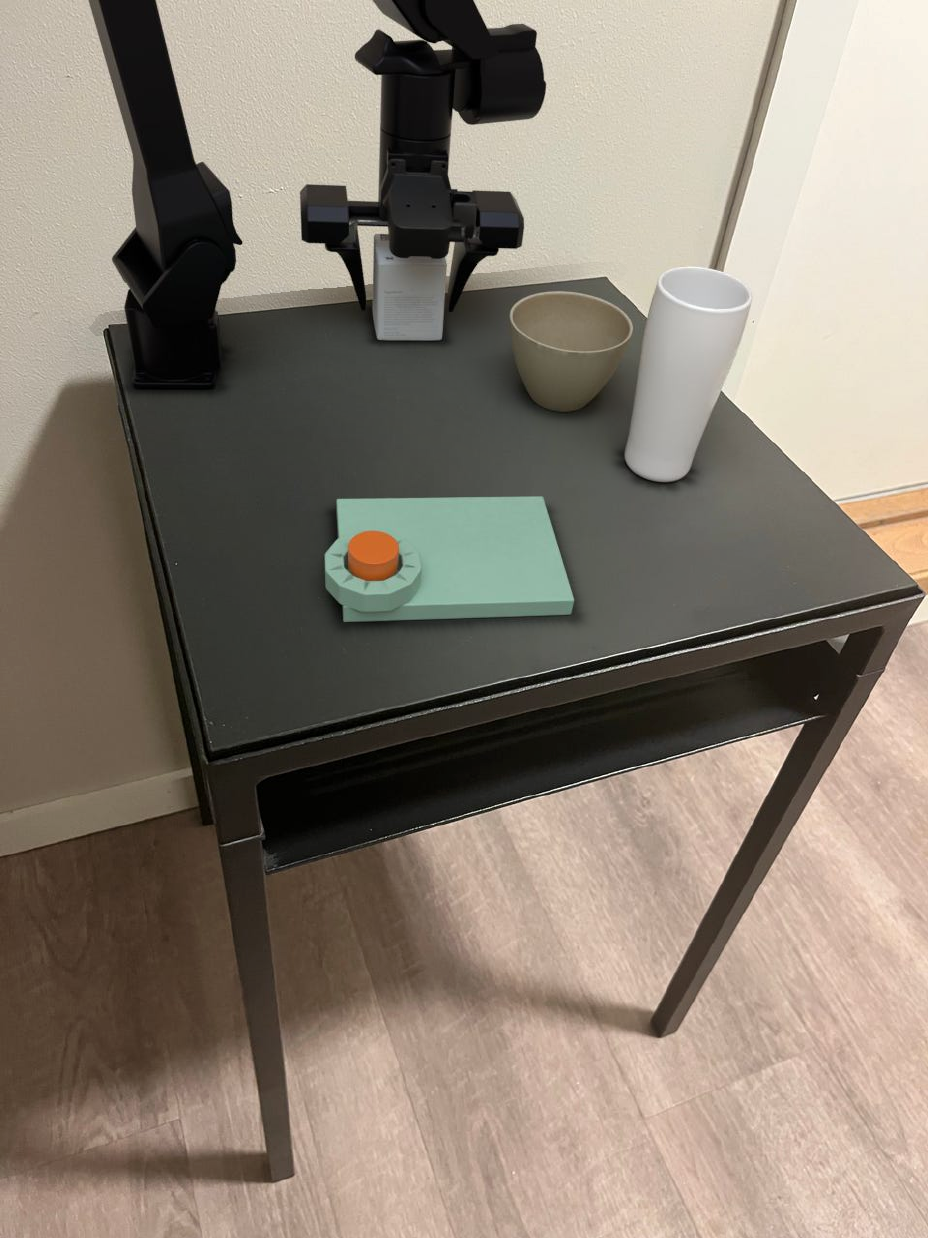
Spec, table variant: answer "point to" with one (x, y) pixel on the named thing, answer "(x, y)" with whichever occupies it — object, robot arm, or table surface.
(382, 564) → the button
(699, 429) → the drinking glass
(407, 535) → the scale
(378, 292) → the white cardboard box
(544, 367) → the flower pot
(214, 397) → the table surface
